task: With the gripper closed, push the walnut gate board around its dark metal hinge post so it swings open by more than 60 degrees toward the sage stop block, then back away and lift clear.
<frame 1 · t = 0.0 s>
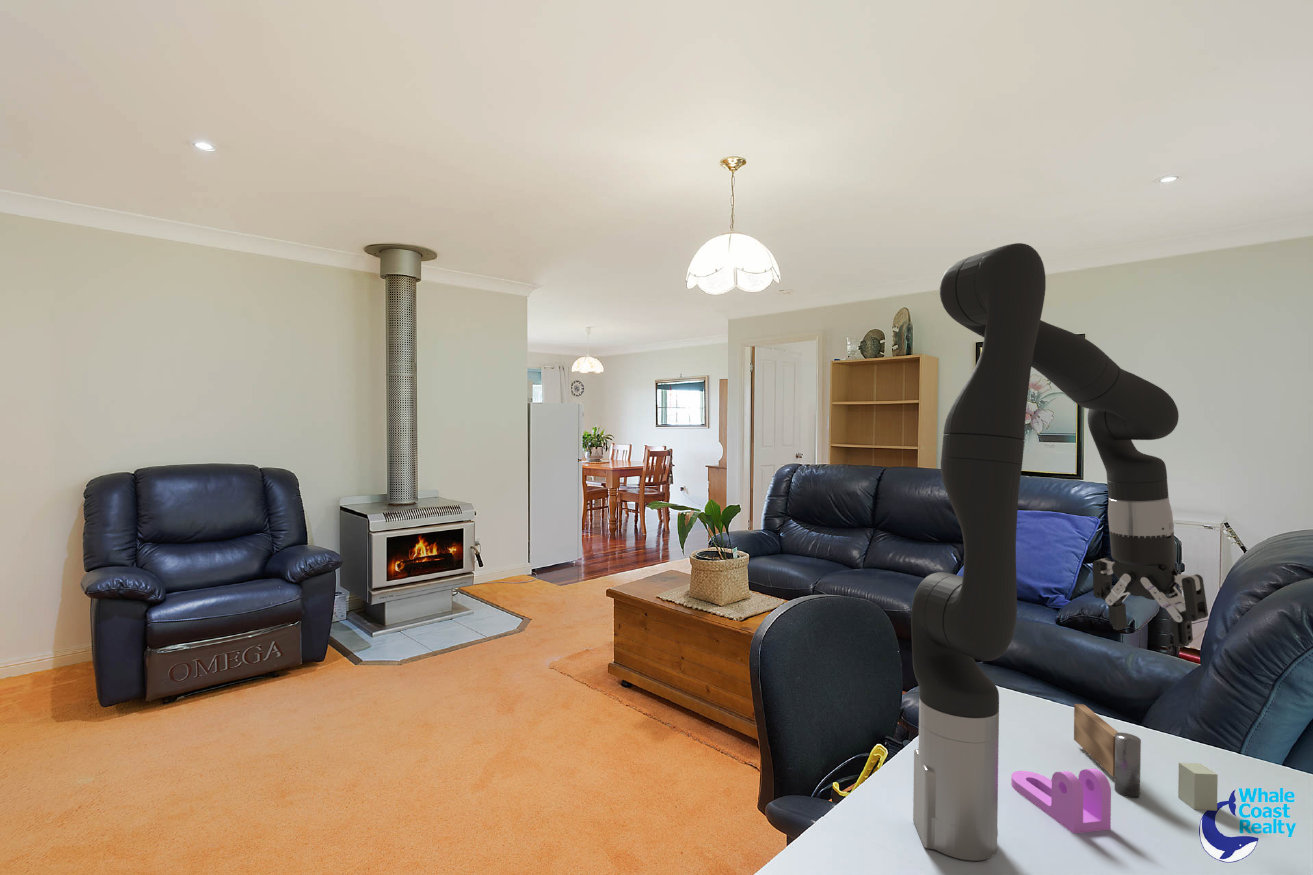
hand: (1149, 636, 94), 22 cm above the table, tool pointing down, fingers open, 8 cm apart
gate: (1097, 738, 102), point 4 cm above the table, hinge at 0.0°
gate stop: (1197, 803, 91), on the table
bracket: (1053, 805, 90), on the table
hinge post: (1127, 792, 93), on the table
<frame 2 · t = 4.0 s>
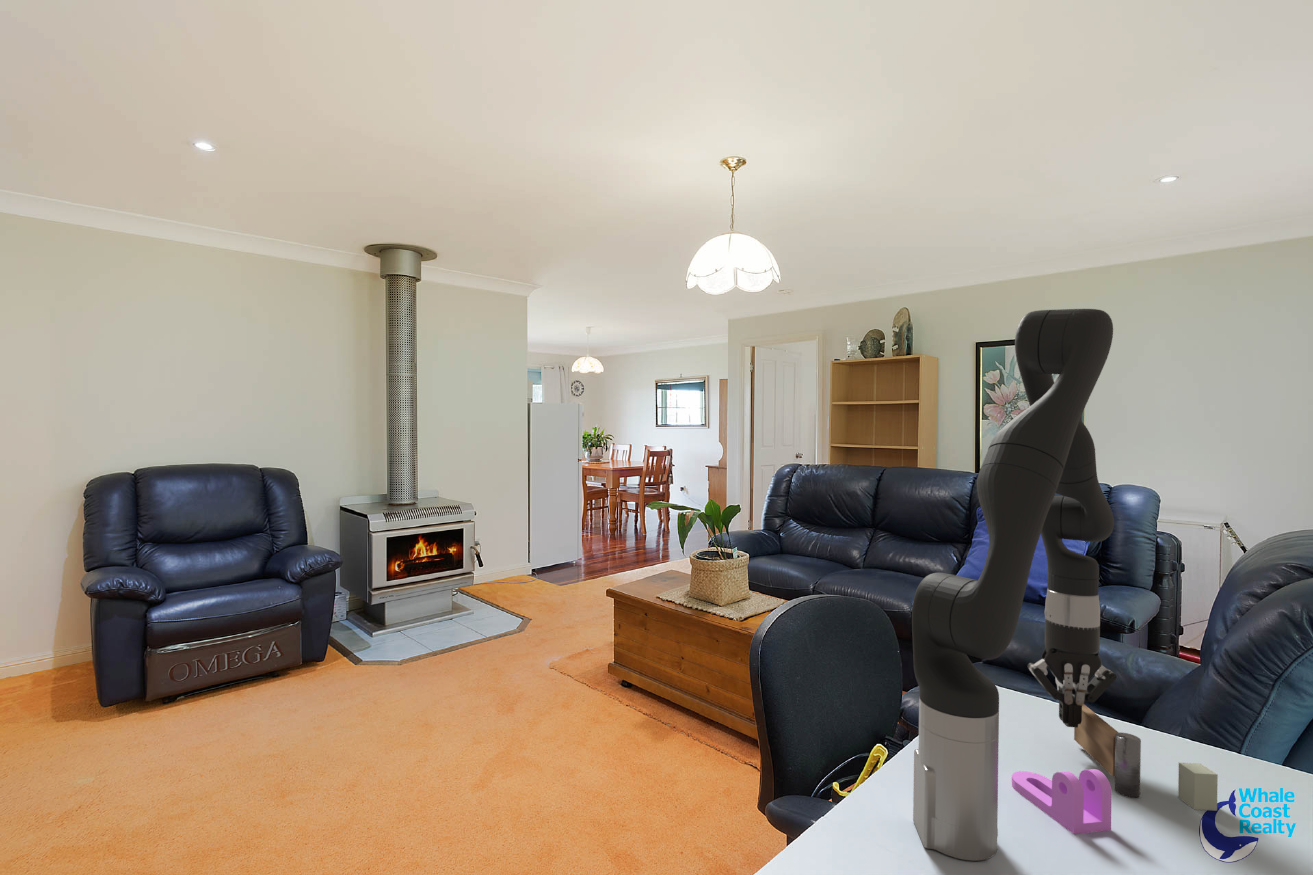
hand: (1070, 725, 105), 5 cm above the table, tool pointing down, fingers closed
gate: (1097, 738, 102), point 4 cm above the table, hinge at 0.2°, touching gripper
everything else where it was.
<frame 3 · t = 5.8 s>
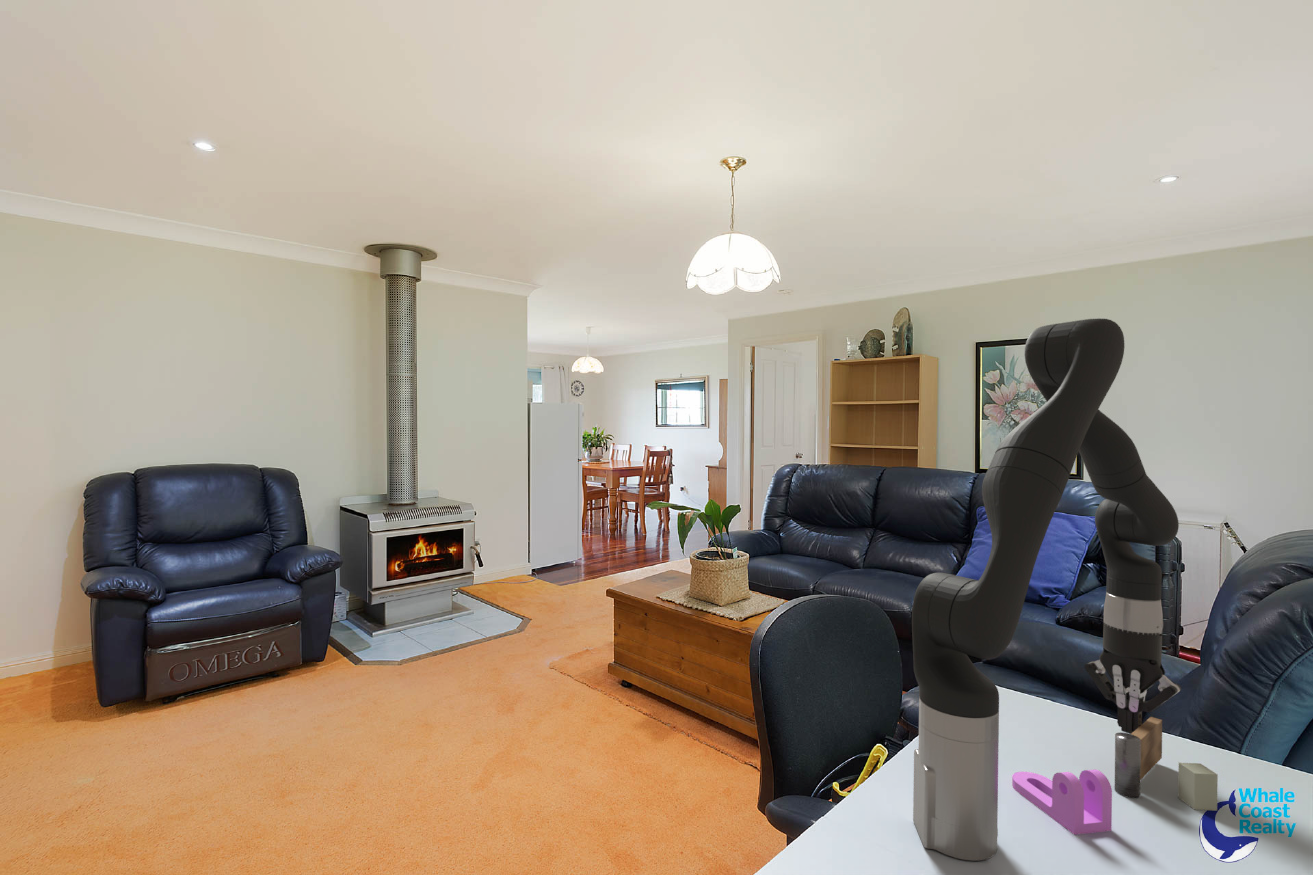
hand: (1129, 731, 103), 5 cm above the table, tool pointing down, fingers closed
gate: (1144, 747, 99), point 4 cm above the table, hinge at 42.2°, touching gripper
everything else where it was.
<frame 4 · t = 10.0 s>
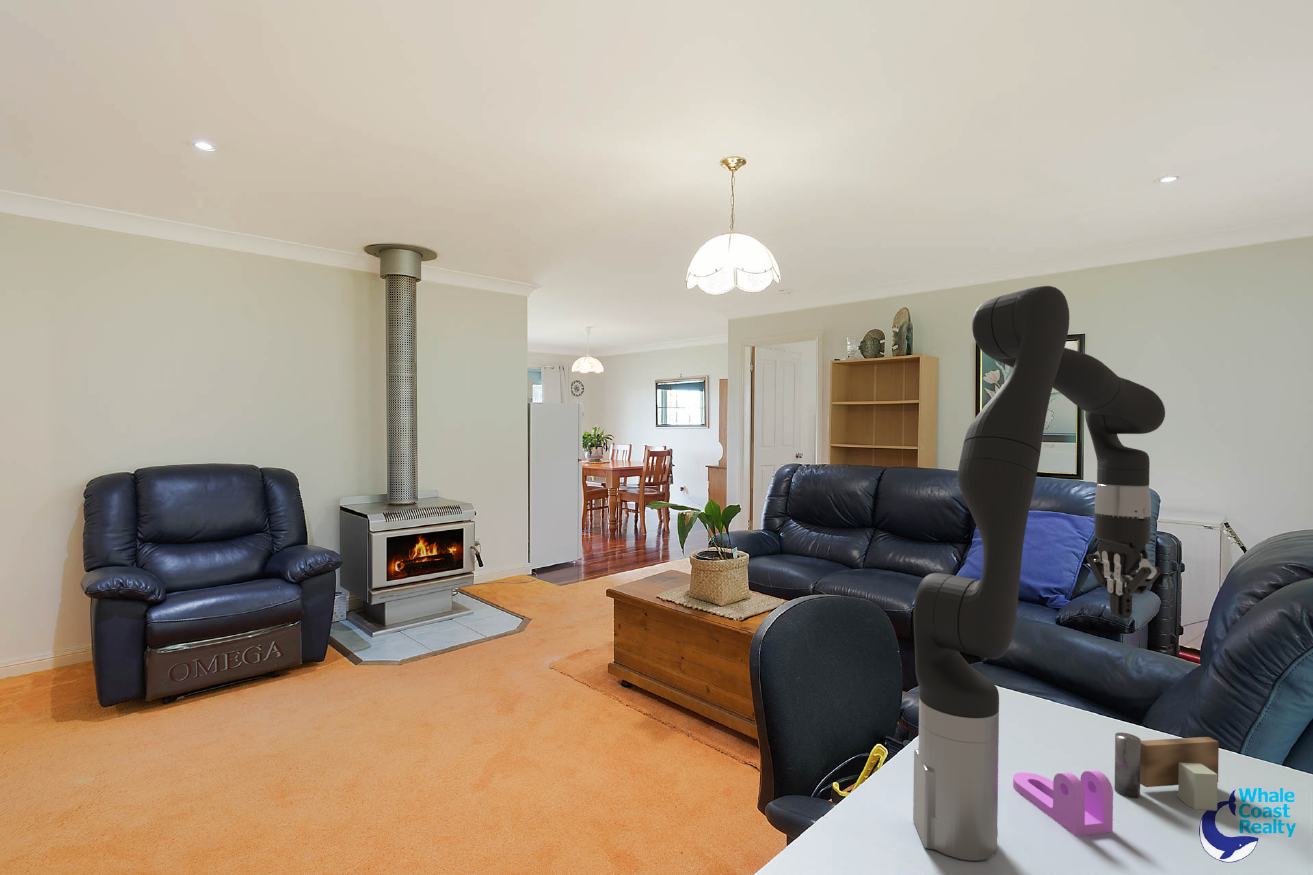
hand: (1120, 616, 106), 22 cm above the table, tool pointing down, fingers closed
gate: (1177, 761, 94), point 4 cm above the table, hinge at 73.1°
everything else where it was.
at the end: gate at +73° (first picture: +0°); bracket moved 0.6 cm from its start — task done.
